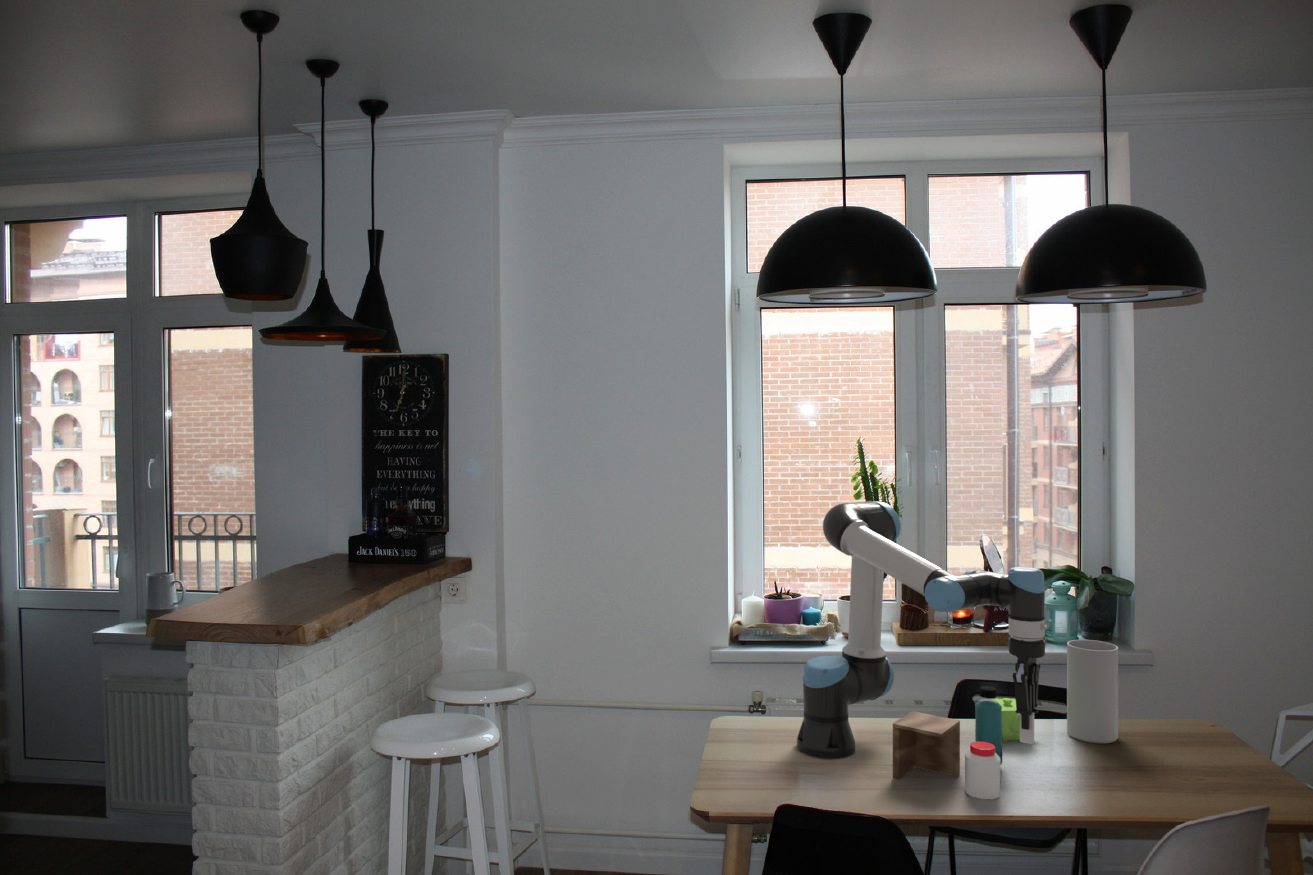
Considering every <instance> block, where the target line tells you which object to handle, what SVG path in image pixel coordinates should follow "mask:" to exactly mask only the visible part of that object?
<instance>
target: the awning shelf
mask: <svg viewBox="0 0 1313 875" xmlns="http://www.w3.org/2000/svg"><path fill="white" fill-rule="evenodd" d="M960 749H961V720H958V719H955V718H949V717H944V716H939V715H934V714H929V713H924V712H919V711H914V710H912V711H910V712H908V713H907V714H906V715H903V716H902V717H901V718H899V719H897V720H895V722H893V723H892V779H893V780H897V781H900V780H901V779H902V778H903V777H904V776H906V775H907V774H909V773H910V772H911V771H912V770H914V769H915V768H919V769H924V770H926V771H932V772H935V773H936V772H937V773H940V774H944V775H948V776H951V777H955V778H958V777H959V776H960V775H961V770H960V769H961V750H960Z"/></svg>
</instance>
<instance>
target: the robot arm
mask: <svg viewBox="0 0 1313 875" xmlns="http://www.w3.org/2000/svg"><path fill="white" fill-rule="evenodd" d="M901 525H902V524H901V520H900V517H899V514H898V513H897V511H895V509H894V507H893V506H891V505H890V504H889V503H886V502H884V501H875V500H873V501H872V500H867V501H857V502H845V503H844V502H842V503H839V504H837V505H835V506H833V507H831V508H830V509H829V510H828V511H827V512H826V514H825V516H824V518H823V521H822V531H823V534H824V538H825V539H826V540H827V542H828V543H829V545H831V547H833V548H835V549H836V550H837V551H839V552H841V553H842V554H844V555H846V556H848V557H849V556H850V557H851V563H850V564H851V569H850V592H849V593H850V594H849V595H850V596H849V612H848V614H849V616H848V640H847V643H846V644H845V645H843V647H842V649H841V656H840V655H835V654H834V655H831V654H830V655H819V656H816V657H813V658H810V659H809V660H807V662H806V663H805V664H804V667H803V677H802V684H803V685H802V688H803V689H802V692H803V698H802V699H803V719H802V722H801V725H800V728H799V731H798V734H797V737H796V748H797V750H798V751H799V752H801V753H802V754H803V755H807V756H809V757H813V758H818V759H825V760H827V759H829V760H831V759H832V760H833V759H844V758H848V757H851V756H852V755H853V754H855V753H856V741H855V740H856V739H855V737H854V733H853V731H852V728H851V725H850V720H849V706H851V705H855V704H859V703H863V702H868V701H875V700H878V699H879V698H881V697H884V696H885V695H887V694H888V693H889V692H890V690H891V689H892V688H893V684H894V680H895V672H894V667H893V665H891V663H892V662H891V661H890V659H889V658H888V657H887V652H886V650H884V648H883V647H882V645H881V644H882V642H881V641H882V638H881V637H882V622H883V621H882V620H883V618H882V617H883V601H884V600H883V599H884V598H883V596H884V576H885V574H886V575H888V576H890V577H892V578H893V579H895V580H897V581H898V582H900V583H902V584H903V585H906V587H908V588H910V589H912V590H914V591H915V592H917V593H919V594H920V595H922V596H923V597H925V598H924V599H925V601H926V603H927V605H928V606H929V607H930V608H931V609H932V610H933V611H936V612H938V613H952V612H956V611H961V610H964V609H965V610H966V609H972V608H978V607H981V606H996V607H997V606H998V607H1000V608H1001V607H1002V608H1007V609H1008V635H1009V637H1008V653H1009V654H1010V655H1012V656H1014V657H1016V658H1017V660H1016V662H1015V672H1013V673H1012V680H1013V684H1014V685H1013V686H1014V695H1015V698H1014V699H1016V711H1015V712H1016V713H1019V714H1020V743H1025V744H1028V745H1034V744H1035V714H1039V709H1037V708H1038V696H1039V695H1038V694H1039V684H1040V680H1039V678H1040V670H1041V663H1038V662H1037V661H1038V660H1037V659H1040V658H1043V657H1044V656H1046V641H1045V639H1044V638H1045V636H1046V635H1045V634H1046V633H1045V630H1047V629H1048V625H1047V624H1045V621H1046V620H1045V618H1046V616H1045V604H1046V603H1045V600H1046V597H1045V596H1046V587H1045V574H1044V571H1042V570H1041V569H1039V568H1035V567H1027V566H1014V567H1010V568H1009V570H1008V573H1007V574H1005V573H999V572H994V571H993V572H992V571H988V570H987V571H986V570H984V569H969V570H966V571H965V573H963V574H959V575H954V574H952V572H949V571H946V570H945V569H943V568H941V567H939V566H937V565H936V564H934V563H932V562H930V561H928V560H926V558H923V557H921V556H920V555H918V554H916V553H914V552H912V551H910V550H908V549H906V548H905V547H903V546H901V545H899V544H897V543H896V540H897V539H898V538H899V536H900V534H901V529H902V528H901ZM1033 713H1035V714H1033Z"/></svg>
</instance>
